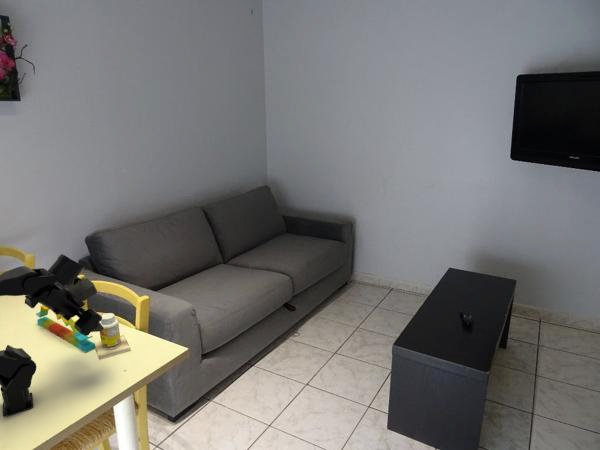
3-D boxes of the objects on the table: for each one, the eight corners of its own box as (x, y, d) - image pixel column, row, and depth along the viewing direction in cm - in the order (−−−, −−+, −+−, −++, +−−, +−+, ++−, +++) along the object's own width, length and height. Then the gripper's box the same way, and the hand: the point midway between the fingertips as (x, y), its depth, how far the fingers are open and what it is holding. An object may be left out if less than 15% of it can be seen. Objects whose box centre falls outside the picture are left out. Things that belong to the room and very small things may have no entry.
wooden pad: (130, 350, 139) (130, 347, 138) (99, 359, 134) (99, 356, 134) (124, 337, 146) (124, 334, 146) (94, 345, 141) (94, 342, 141)
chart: (96, 348, 140) (89, 305, 136) (86, 353, 138) (79, 309, 133) (47, 321, 157) (39, 281, 153) (38, 324, 155) (30, 285, 150)
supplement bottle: (100, 344, 140) (95, 314, 137) (118, 338, 143) (114, 310, 140) (103, 352, 136) (99, 322, 133) (123, 346, 139) (119, 317, 136)
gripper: (97, 289, 115) (131, 313, 127) (60, 260, 125) (96, 286, 137) (64, 324, 111) (103, 346, 123) (30, 293, 121) (69, 316, 133)
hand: (93, 322), depth 129 cm, fingers open, 9 cm apart
